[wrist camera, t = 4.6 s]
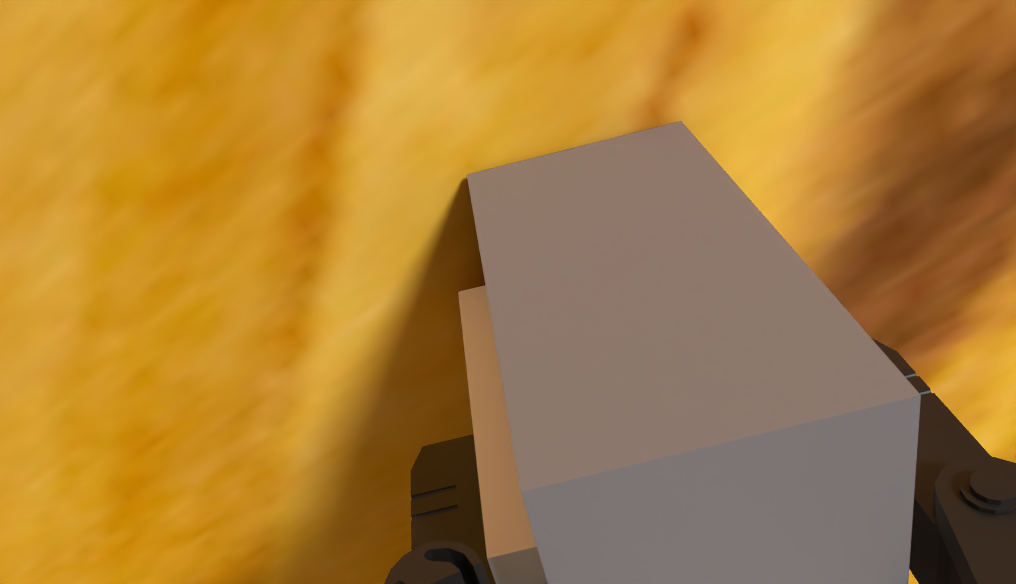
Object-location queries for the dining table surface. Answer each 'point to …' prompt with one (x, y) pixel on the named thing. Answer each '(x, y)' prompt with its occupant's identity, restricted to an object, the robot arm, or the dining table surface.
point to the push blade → (685, 379)
